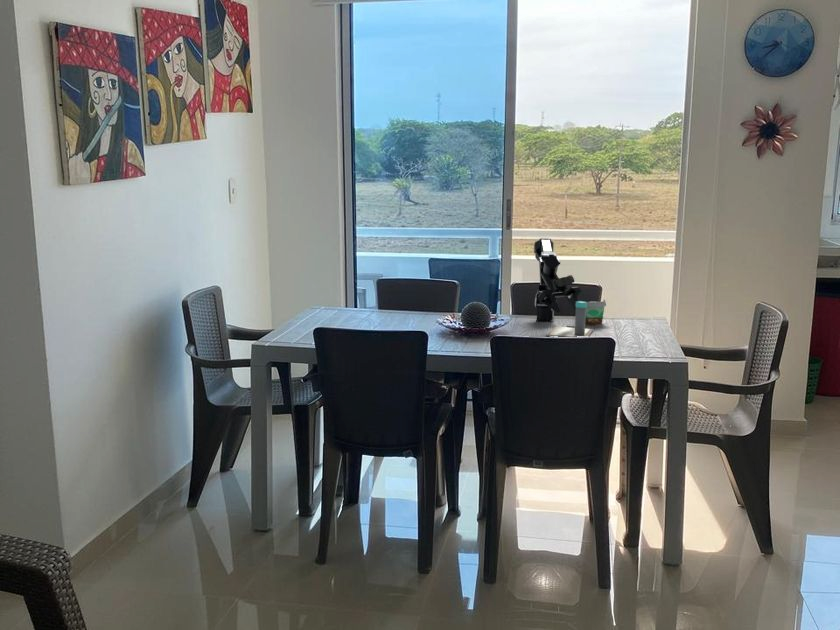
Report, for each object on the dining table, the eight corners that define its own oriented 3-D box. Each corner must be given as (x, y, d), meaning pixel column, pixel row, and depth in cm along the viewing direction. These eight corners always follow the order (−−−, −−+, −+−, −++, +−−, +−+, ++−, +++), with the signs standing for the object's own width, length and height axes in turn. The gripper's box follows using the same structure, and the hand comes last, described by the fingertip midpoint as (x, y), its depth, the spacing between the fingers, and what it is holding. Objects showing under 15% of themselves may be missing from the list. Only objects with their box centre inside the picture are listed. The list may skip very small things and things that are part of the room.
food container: (582, 326, 343) (583, 302, 341) (577, 323, 349) (578, 300, 347) (610, 325, 345) (611, 302, 343) (604, 322, 351) (605, 299, 349)
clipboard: (545, 336, 323) (545, 333, 323) (555, 327, 340) (555, 324, 340) (586, 340, 317) (586, 336, 317) (593, 330, 335) (593, 327, 335)
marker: (573, 335, 322) (574, 302, 319) (575, 333, 326) (576, 301, 323) (583, 336, 320) (585, 303, 318) (585, 333, 324) (587, 301, 322)
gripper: (543, 270, 324) (559, 302, 317) (579, 267, 333) (596, 298, 326) (530, 286, 333) (546, 318, 326) (566, 283, 342) (582, 313, 335)
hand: (568, 311), depth 328 cm, fingers open, 9 cm apart
